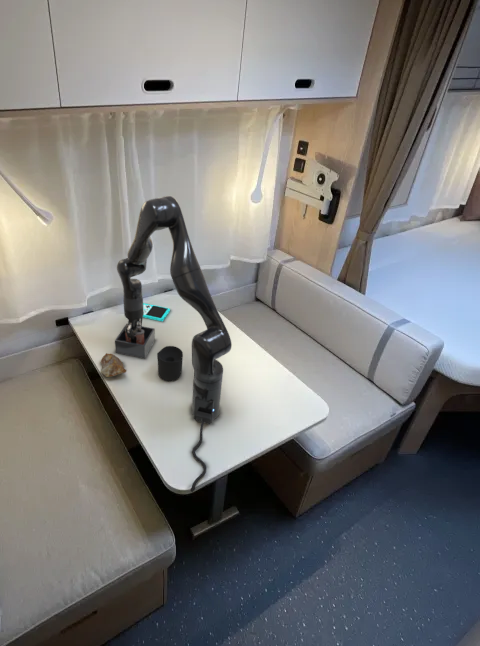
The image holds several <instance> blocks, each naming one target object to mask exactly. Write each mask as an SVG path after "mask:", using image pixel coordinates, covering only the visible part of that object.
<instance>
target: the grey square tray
mask: <svg viewBox="0 0 480 646" xmlns="http://www.w3.org/2000/svg"><path fill="white" fill-rule="evenodd" d="M127 324H128V323H125V325H124V326H123V328H122V330H121V331H120V332H119V333H118V335H117V336H116V338H115V339H114V347H115V354H121V355H126V356H129V357H135V358H139V359H140V358H141V359H144V360H145V359H146V357H147V356H148V354H149V352H150V351H151V349H152V347H153V345H154V343H155V341H156V329H155V328H153V327H150V326H149V327H148V326H143V325H142V326H141V329H142V330H144V345H141V344H136V343H131V342H126V333H125V329H126V325H127Z"/></svg>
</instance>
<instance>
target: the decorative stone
mask: <svg viewBox="0 0 480 646" xmlns="http://www.w3.org/2000/svg"><path fill="white" fill-rule="evenodd" d="M100 364H101V365H102V366H101V367H102V369H100V373H101V374H102V375H104V377H106V378H113V377H115V376H117V375H120V374H121V375H122V374H125V373H126V372H127V369H125V367H124V363H123V362H122V360H121V359H120V358H119V357H118V356H117V355H115V354H113V353H107V352H106V353H105V354H104V355H103V356H102V357H101V360H100Z"/></svg>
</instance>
